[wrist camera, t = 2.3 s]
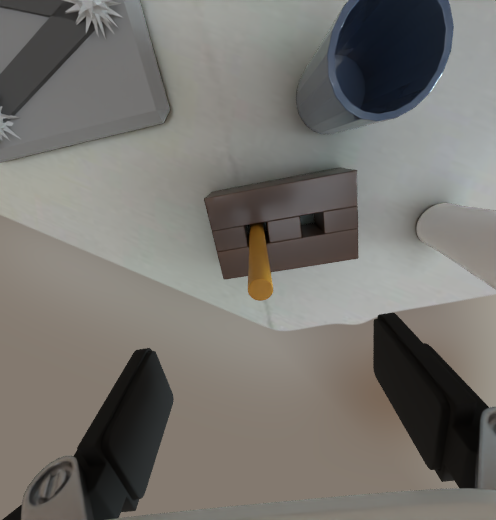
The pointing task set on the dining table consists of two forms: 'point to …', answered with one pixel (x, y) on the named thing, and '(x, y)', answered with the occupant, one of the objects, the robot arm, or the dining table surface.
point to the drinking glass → (462, 237)
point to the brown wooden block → (287, 221)
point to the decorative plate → (74, 74)
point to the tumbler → (375, 63)
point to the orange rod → (259, 265)
